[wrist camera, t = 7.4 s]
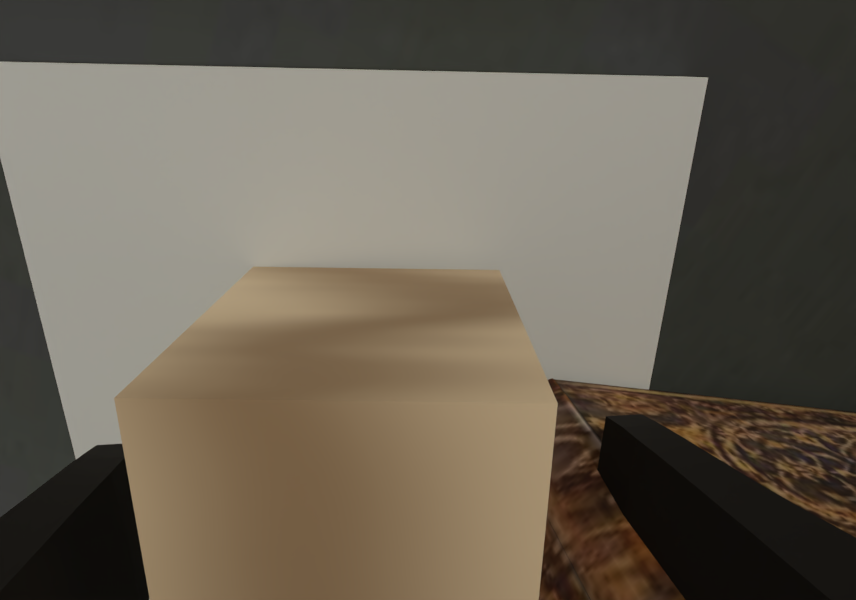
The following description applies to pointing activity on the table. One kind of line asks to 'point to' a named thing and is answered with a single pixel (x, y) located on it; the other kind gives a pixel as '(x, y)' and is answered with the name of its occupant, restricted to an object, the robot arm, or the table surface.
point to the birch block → (344, 442)
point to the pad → (340, 201)
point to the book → (706, 428)
